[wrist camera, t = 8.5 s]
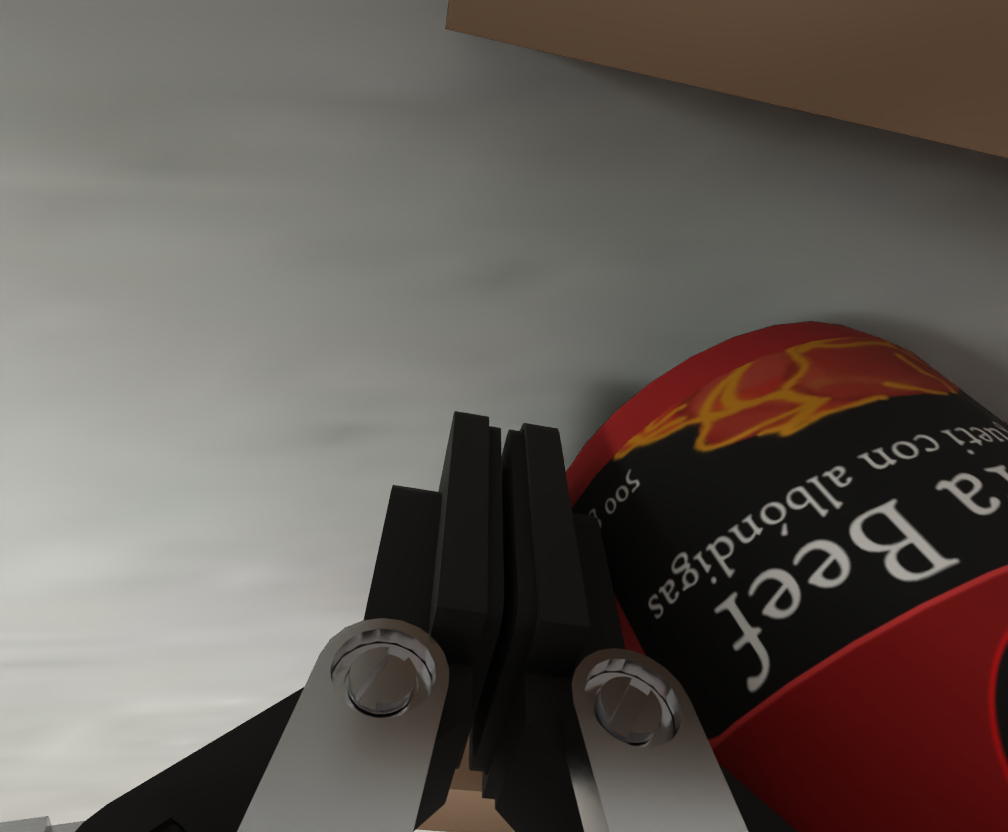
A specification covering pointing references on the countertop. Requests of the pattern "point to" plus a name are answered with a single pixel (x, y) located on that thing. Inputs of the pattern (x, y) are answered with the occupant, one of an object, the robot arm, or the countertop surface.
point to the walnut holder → (772, 99)
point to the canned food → (819, 572)
